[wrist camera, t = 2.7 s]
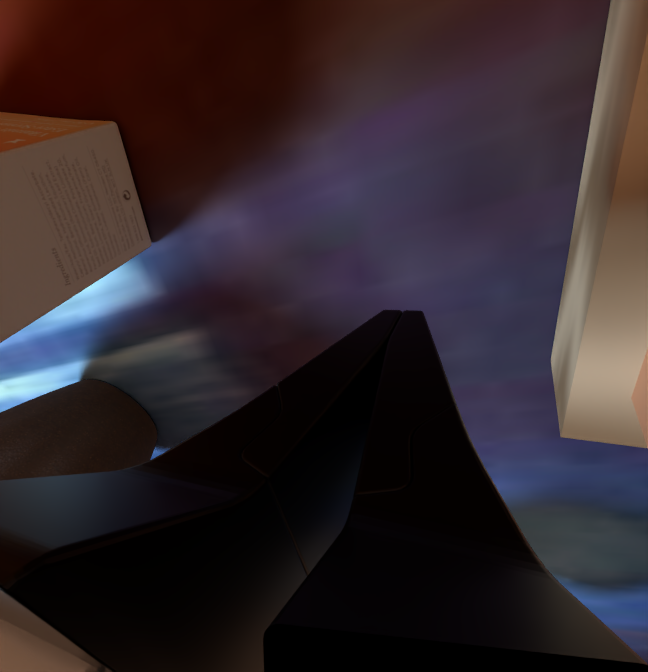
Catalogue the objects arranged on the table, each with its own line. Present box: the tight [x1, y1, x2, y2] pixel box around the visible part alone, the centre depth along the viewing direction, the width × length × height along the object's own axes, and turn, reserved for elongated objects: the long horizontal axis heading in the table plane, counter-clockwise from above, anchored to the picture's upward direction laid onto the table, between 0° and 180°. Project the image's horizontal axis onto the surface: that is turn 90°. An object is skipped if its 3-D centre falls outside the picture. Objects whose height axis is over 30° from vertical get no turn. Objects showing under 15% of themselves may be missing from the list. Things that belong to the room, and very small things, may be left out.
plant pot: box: [0, 379, 157, 481], centre depth 26 cm, size 15×15×16 cm
